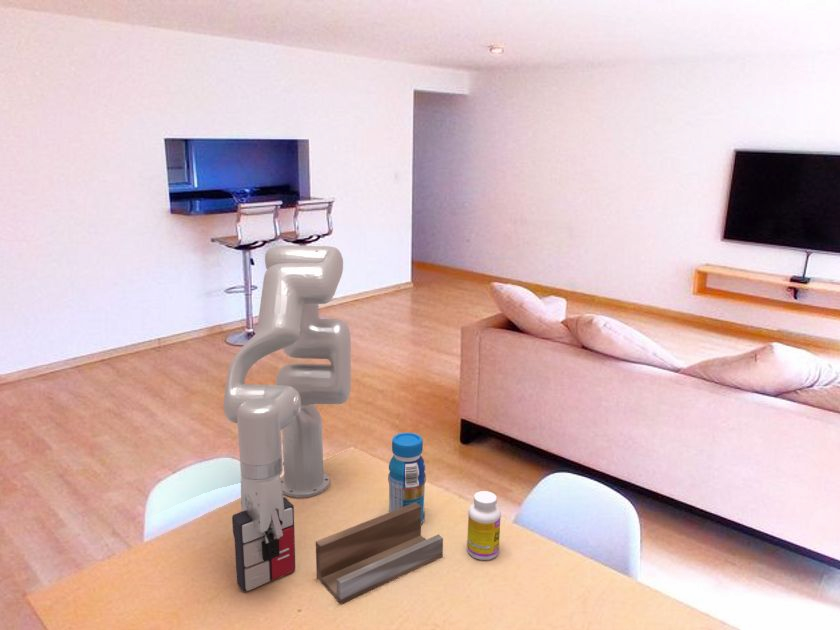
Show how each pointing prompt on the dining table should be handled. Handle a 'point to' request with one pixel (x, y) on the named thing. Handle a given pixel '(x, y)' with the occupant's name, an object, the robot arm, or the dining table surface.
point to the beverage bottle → (407, 472)
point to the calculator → (249, 550)
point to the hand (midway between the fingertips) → (266, 550)
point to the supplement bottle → (483, 526)
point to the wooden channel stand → (375, 553)
